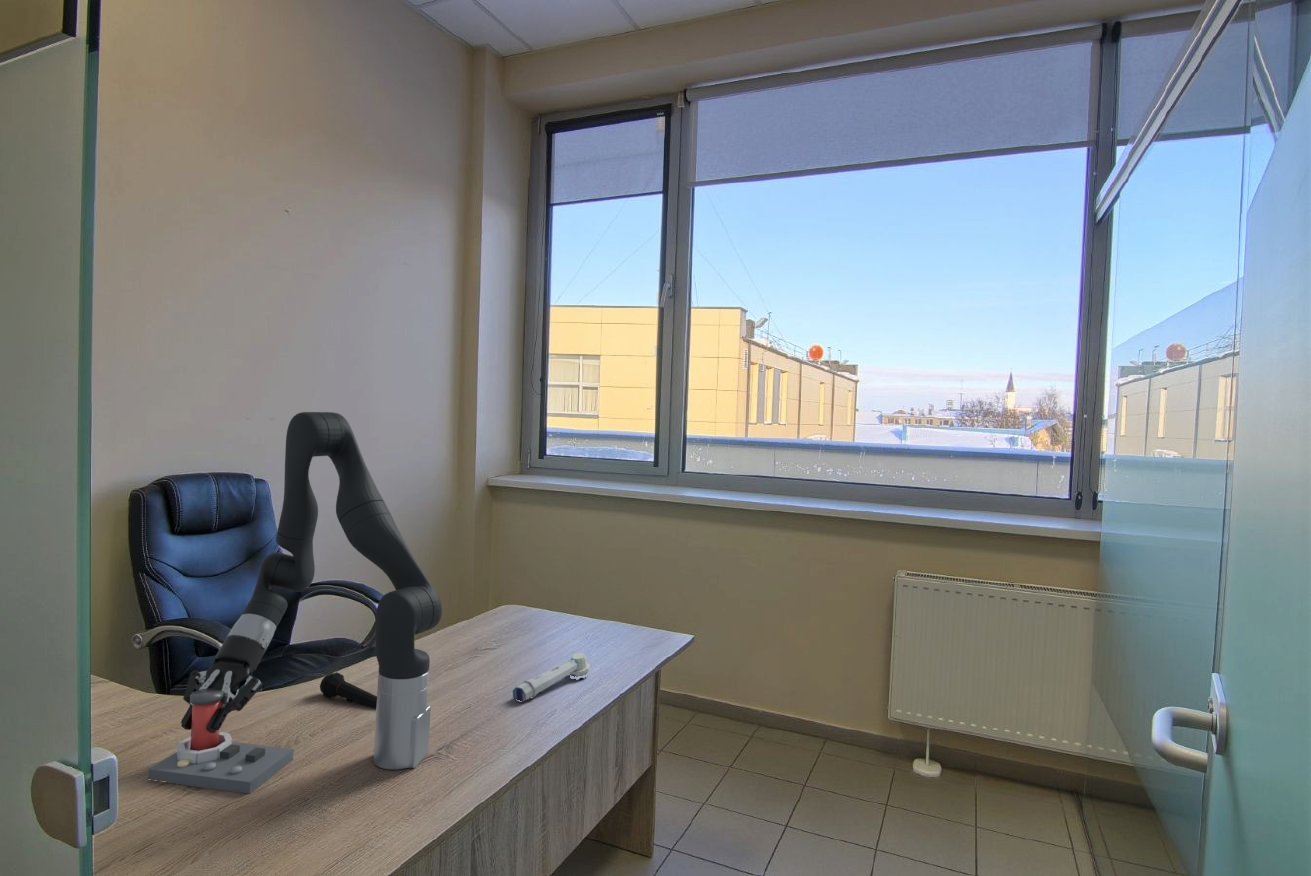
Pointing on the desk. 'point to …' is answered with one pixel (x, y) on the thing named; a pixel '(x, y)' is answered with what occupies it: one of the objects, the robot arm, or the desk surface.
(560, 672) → the toothbrush head
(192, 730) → the cap
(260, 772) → the grey control panel
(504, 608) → the desk surface
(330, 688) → the microphone
